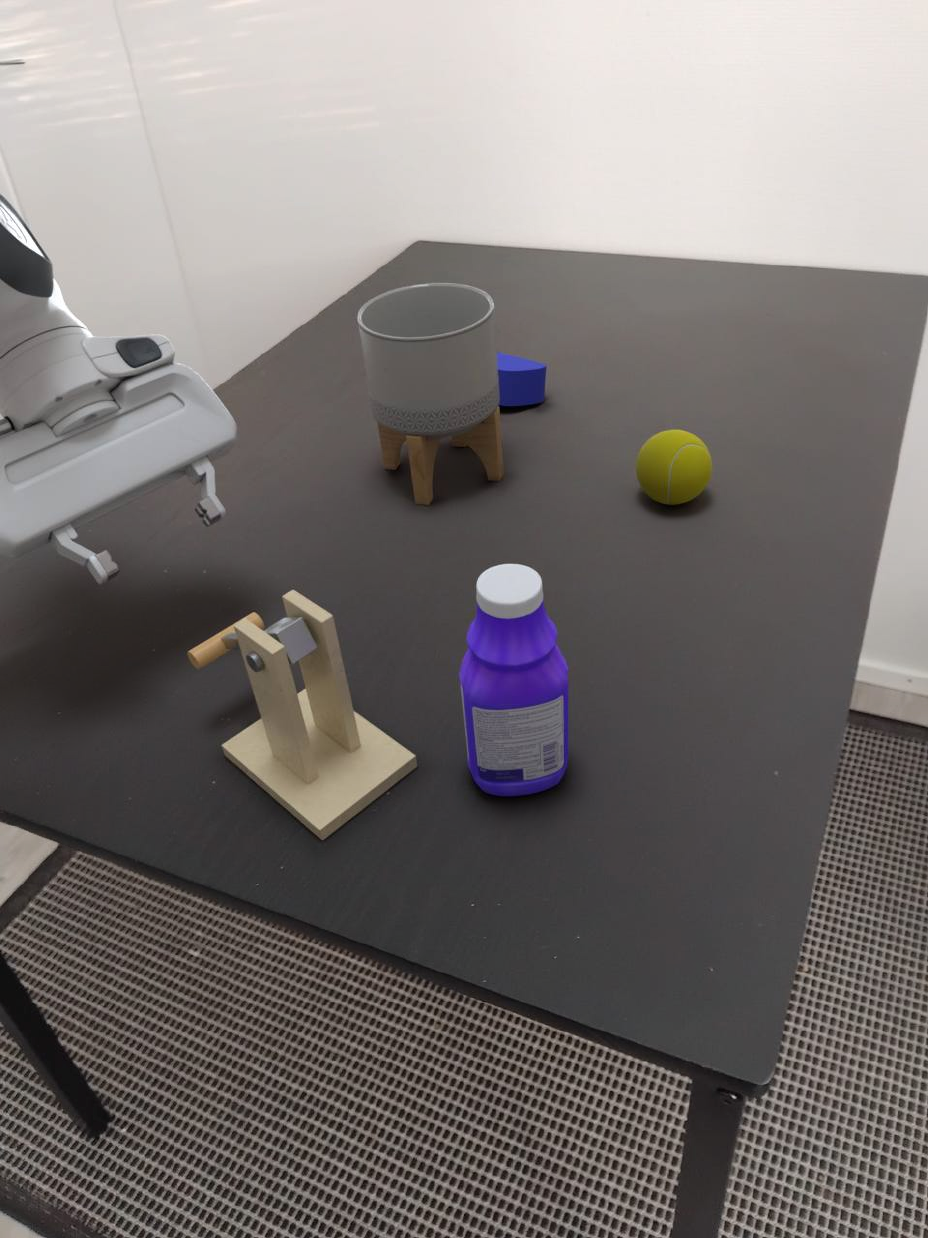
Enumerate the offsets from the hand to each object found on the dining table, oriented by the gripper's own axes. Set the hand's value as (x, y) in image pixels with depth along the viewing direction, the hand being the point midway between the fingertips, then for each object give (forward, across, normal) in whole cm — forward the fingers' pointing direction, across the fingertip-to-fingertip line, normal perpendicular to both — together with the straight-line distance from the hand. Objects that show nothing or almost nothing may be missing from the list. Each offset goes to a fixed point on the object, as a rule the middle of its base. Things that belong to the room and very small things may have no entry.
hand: (165, 548), depth 74 cm
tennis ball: (+20, +45, -1) cm, 49 cm away
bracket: (+20, 0, -2) cm, 20 cm away
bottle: (+28, +9, -10) cm, 32 cm away
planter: (+4, +34, +14) cm, 37 cm away
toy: (-1, +50, +19) cm, 53 cm away
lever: (+11, 0, -5) cm, 12 cm away
